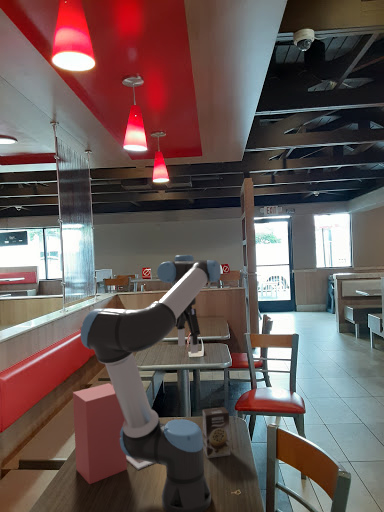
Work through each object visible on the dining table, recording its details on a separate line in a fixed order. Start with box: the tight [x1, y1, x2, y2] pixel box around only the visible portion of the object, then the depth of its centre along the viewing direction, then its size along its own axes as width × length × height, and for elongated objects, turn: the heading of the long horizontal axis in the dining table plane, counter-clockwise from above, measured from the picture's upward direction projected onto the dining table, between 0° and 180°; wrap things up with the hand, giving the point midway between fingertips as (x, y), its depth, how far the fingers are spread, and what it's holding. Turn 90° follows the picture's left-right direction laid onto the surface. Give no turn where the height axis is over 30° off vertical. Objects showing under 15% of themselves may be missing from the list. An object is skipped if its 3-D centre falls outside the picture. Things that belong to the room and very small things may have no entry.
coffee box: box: [202, 406, 231, 459], centre depth 151 cm, size 9×6×16 cm
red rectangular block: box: [72, 383, 128, 485], centre depth 143 cm, size 14×12×28 cm
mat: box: [126, 455, 154, 471], centre depth 157 cm, size 28×18×1 cm, turn 127°
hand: (187, 349), depth 155 cm, fingers open, 13 cm apart
